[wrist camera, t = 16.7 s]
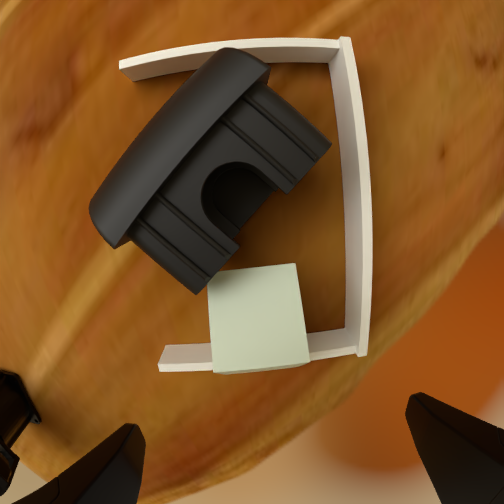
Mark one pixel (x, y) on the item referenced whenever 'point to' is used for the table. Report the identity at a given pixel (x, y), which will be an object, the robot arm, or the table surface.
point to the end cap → (206, 168)
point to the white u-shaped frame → (352, 178)
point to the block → (256, 320)
